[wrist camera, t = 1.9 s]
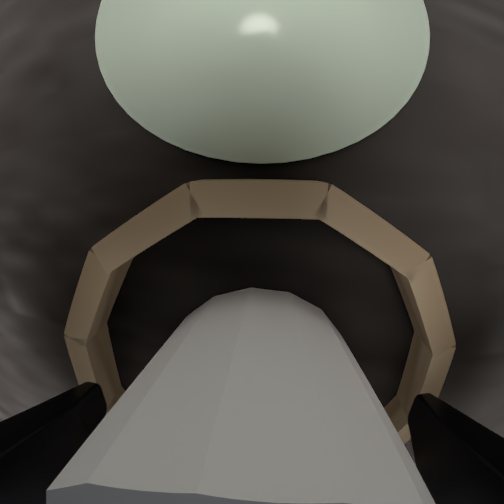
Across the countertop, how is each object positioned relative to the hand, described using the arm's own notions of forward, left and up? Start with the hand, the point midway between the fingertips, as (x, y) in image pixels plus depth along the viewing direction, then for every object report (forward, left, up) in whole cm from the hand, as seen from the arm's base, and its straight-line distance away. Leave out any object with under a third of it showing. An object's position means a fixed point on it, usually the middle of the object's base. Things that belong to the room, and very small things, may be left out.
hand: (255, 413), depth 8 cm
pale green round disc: (+11, 0, -2) cm, 11 cm away
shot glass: (0, 0, -2) cm, 2 cm away
